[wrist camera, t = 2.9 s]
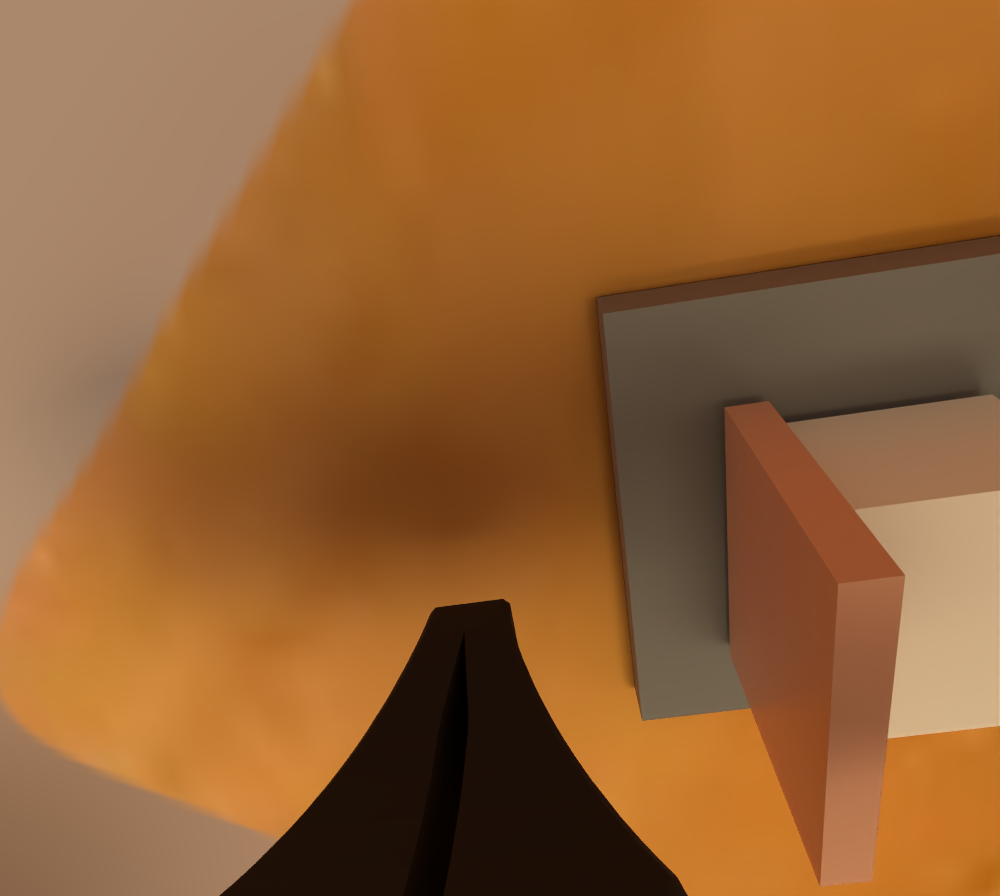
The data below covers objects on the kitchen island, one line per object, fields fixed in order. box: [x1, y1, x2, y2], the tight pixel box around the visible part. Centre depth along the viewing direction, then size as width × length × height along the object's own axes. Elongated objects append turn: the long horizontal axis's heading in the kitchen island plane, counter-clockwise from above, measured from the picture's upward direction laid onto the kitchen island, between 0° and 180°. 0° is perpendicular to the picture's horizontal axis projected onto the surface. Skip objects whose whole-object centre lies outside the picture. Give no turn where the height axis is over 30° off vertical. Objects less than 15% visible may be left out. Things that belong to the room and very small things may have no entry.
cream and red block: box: [724, 394, 1000, 886], centre depth 13 cm, size 6×8×5 cm
